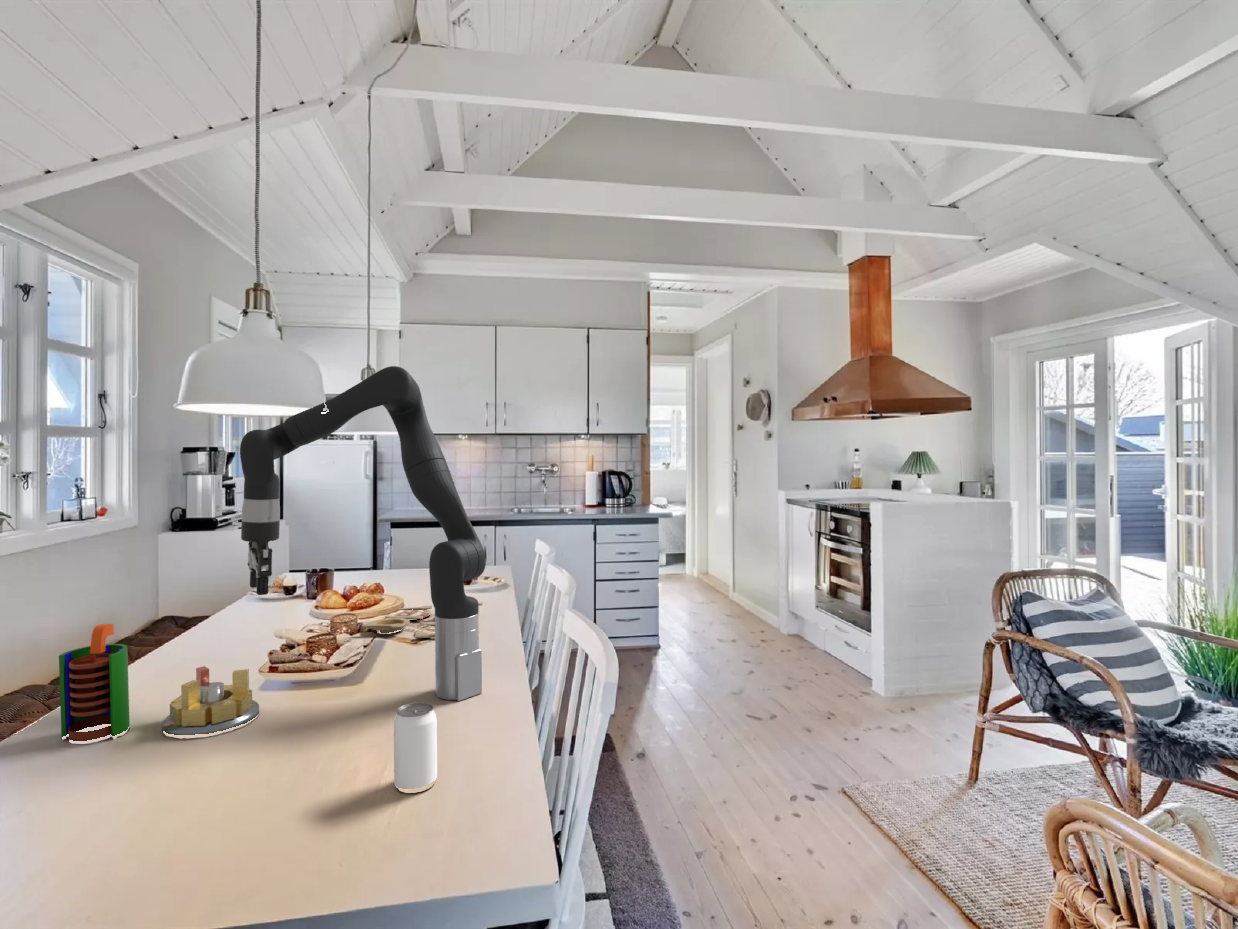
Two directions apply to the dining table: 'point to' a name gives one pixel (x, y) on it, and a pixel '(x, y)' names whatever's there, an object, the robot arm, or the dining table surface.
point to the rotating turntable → (209, 695)
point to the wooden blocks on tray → (197, 714)
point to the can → (415, 745)
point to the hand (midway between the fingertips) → (258, 590)
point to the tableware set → (402, 623)
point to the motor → (94, 688)
